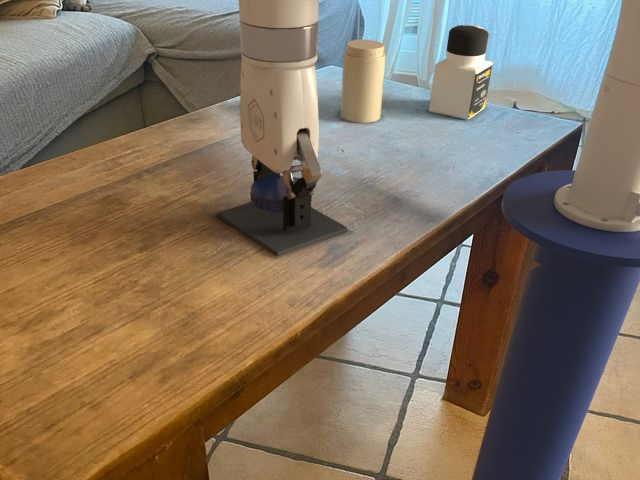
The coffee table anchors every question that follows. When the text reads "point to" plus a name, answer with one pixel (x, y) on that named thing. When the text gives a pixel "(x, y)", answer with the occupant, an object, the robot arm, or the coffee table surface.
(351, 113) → the jar
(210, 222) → the coffee table surface
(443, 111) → the medicine bottle
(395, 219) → the coffee table surface
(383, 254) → the coffee table surface
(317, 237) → the mat
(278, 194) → the lid
